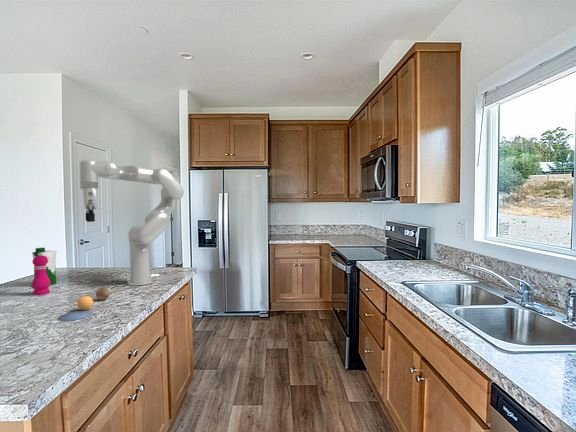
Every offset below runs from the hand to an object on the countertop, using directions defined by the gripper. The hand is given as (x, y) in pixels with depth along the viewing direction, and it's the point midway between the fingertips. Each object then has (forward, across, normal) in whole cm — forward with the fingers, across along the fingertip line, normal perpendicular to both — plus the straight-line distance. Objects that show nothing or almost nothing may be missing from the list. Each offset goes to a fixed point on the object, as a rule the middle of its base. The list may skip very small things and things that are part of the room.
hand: (90, 221), depth 158 cm
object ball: (+32, -30, +4) cm, 44 cm away
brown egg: (+32, -18, -3) cm, 37 cm away
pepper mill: (+35, +10, +20) cm, 42 cm away
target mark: (+35, -36, +8) cm, 51 cm away
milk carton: (+35, +31, +19) cm, 50 cm away
